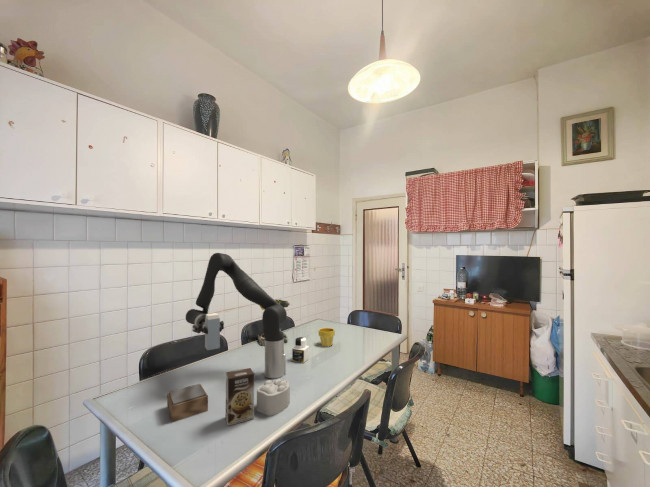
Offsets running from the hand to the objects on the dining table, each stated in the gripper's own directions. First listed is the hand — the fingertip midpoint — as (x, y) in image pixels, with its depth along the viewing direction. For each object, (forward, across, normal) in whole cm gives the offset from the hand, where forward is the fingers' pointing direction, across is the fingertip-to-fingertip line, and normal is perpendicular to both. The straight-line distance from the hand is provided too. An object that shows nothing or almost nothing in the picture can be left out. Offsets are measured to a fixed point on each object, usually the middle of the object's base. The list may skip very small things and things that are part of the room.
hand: (214, 330), depth 122 cm
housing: (-3, 0, +8) cm, 8 cm away
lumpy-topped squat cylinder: (+26, +16, +26) cm, 40 cm away
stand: (+8, -12, +26) cm, 30 cm away
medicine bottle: (-7, +48, +26) cm, 55 cm away
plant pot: (-18, +74, +26) cm, 80 cm away
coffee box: (+26, +2, +26) cm, 37 cm away
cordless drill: (-47, +51, +26) cm, 74 cm away
